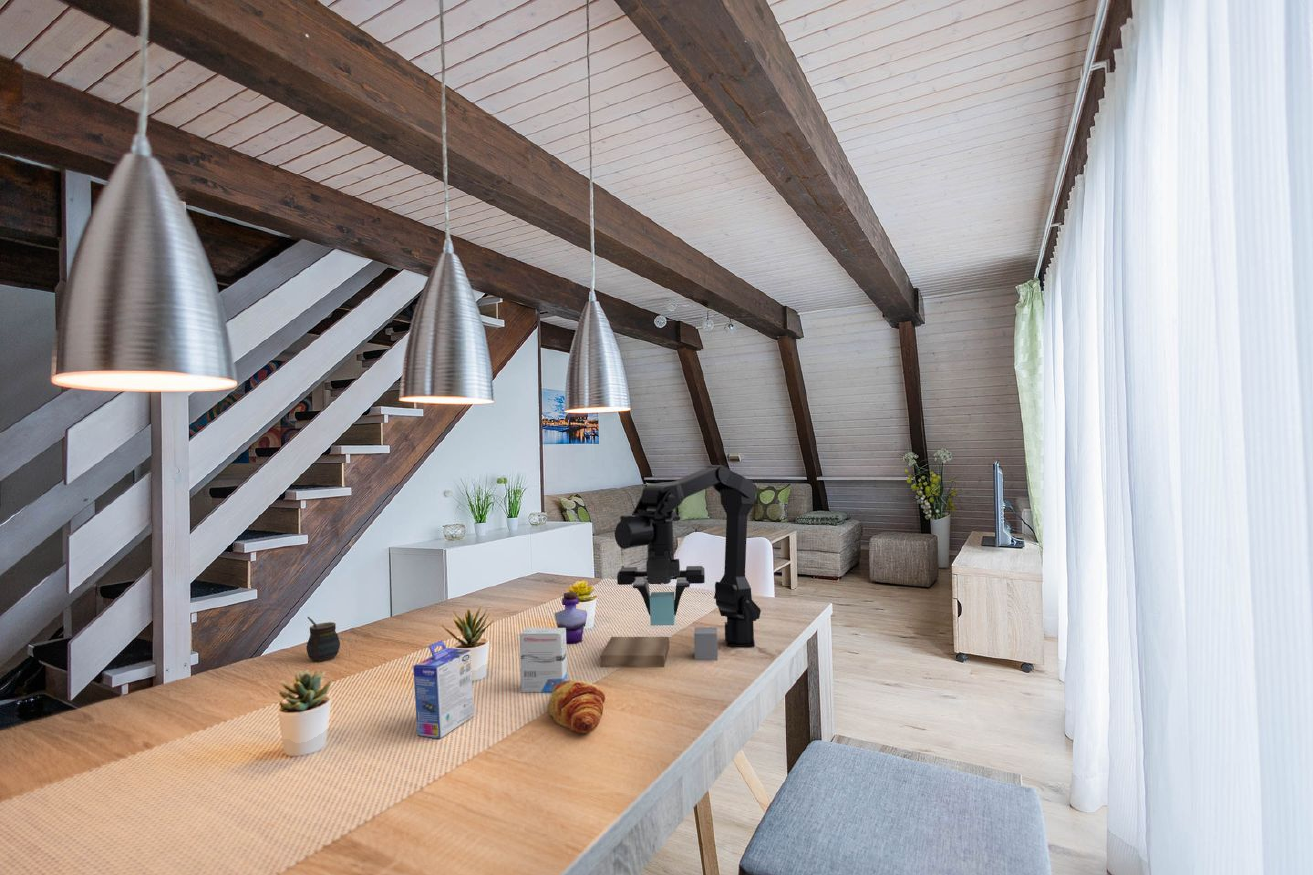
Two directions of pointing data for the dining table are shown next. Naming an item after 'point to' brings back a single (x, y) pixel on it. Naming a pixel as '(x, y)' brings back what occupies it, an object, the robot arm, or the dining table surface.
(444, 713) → the ink cartridge box
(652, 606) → the teal block
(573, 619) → the potion bottle
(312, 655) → the mate gourd
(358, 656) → the dining table surface
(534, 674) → the ink box
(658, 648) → the walnut slab
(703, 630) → the gray block
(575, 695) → the croissant
